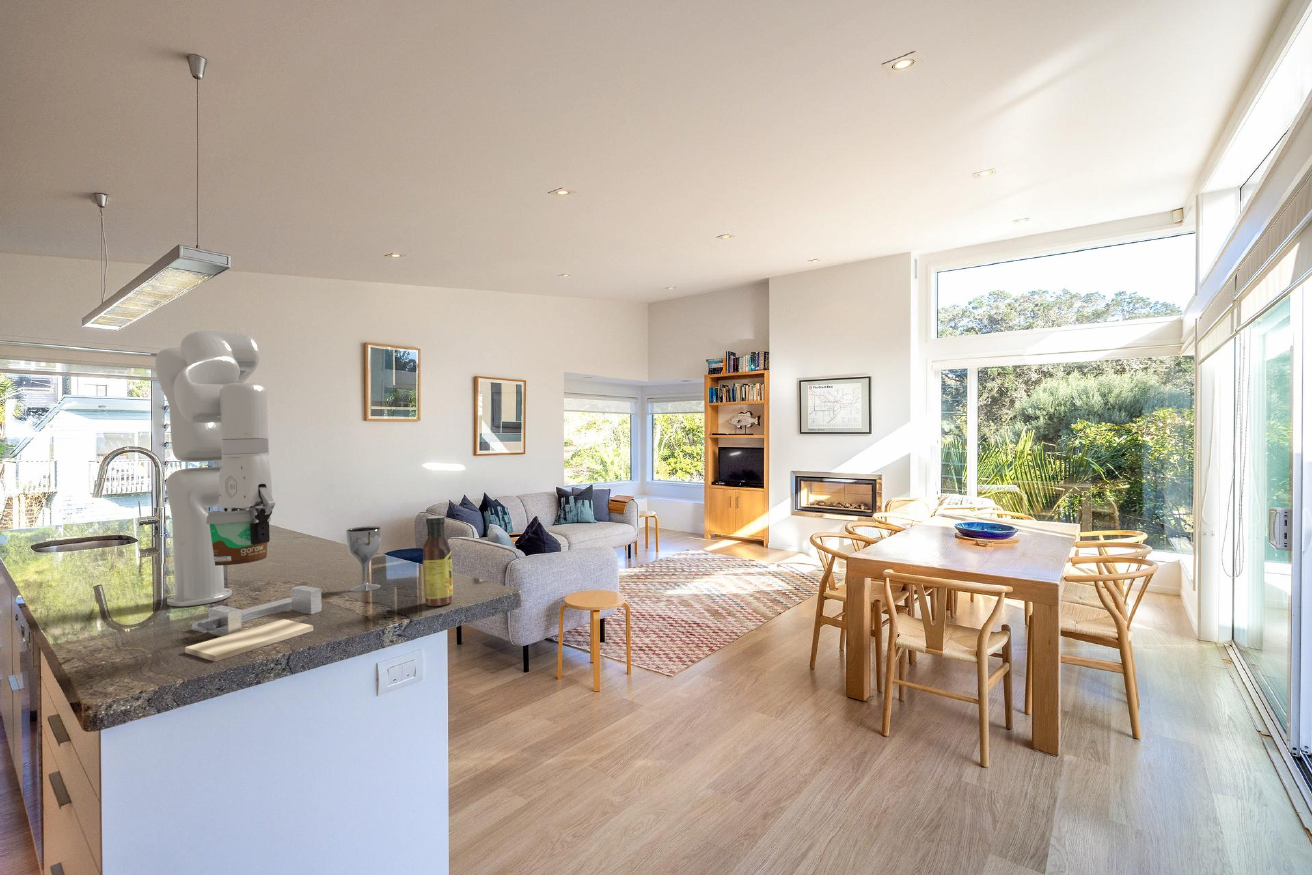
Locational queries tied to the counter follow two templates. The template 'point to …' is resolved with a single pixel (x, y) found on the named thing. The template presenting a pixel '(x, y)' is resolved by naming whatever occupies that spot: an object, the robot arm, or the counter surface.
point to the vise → (258, 611)
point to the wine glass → (364, 550)
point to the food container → (234, 538)
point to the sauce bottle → (437, 564)
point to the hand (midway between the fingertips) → (248, 541)
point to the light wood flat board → (248, 640)
